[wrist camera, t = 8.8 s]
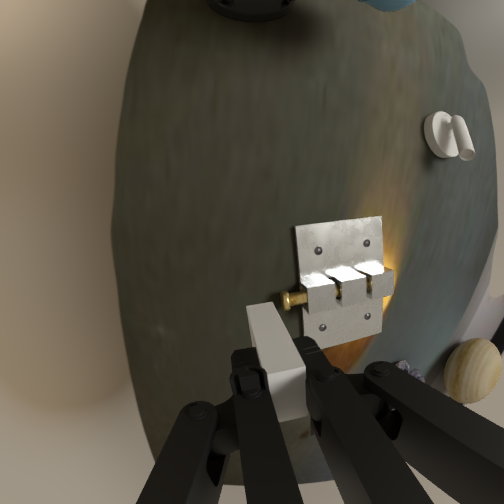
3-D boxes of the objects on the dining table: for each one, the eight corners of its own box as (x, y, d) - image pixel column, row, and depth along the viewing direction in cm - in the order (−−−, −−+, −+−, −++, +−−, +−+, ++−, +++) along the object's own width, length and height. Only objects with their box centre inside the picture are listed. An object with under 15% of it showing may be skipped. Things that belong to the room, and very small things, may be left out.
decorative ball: (421, 376, 47) (462, 411, 32) (458, 319, 46) (506, 344, 31) (446, 389, 50) (480, 418, 35) (478, 340, 49) (517, 362, 34)
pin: (279, 288, 39) (283, 294, 36) (375, 270, 40) (385, 274, 38) (281, 307, 39) (285, 314, 36) (375, 287, 41) (384, 292, 38)
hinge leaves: (293, 225, 38) (302, 228, 34) (378, 215, 39) (392, 217, 36) (303, 350, 41) (311, 362, 38) (379, 330, 43) (390, 339, 39)
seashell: (410, 360, 46) (439, 384, 36) (395, 381, 46) (421, 408, 36) (395, 353, 45) (426, 378, 35) (379, 375, 45) (406, 404, 35)
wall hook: (457, 144, 30) (459, 93, 28) (420, 151, 39) (425, 106, 38) (486, 169, 31) (487, 121, 30) (449, 172, 40) (454, 128, 39)
